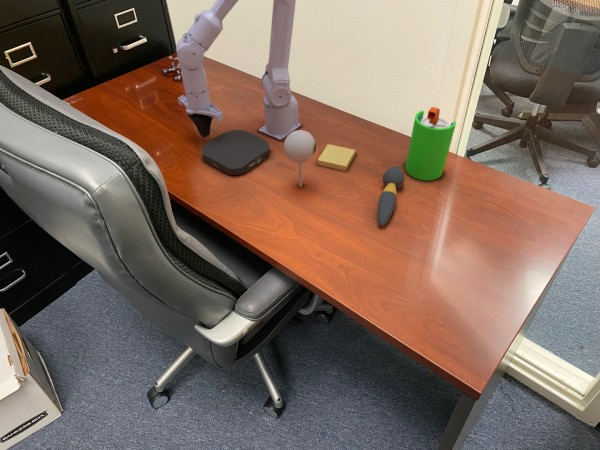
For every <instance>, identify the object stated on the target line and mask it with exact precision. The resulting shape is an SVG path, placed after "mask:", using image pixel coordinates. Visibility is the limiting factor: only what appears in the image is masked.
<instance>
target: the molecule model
mask: <svg viewBox="0 0 600 450" xmlns="http://www.w3.org/2000/svg"><path fill="white" fill-rule="evenodd" d="M168 59H169V60H170V61H171V62H172V63H174V62H175V61H176V60H177V61H179V60H178V56H176V58H174V57H173V56H172V55H170V56H168ZM180 69H181V68H180V62H179V63H177V65H176V66H175V64H171V65H170V67H169V68H164V69H162V73H164V74H168V73H170V71H172V72H175V71H176V72H177V76H175V77H174V80H175V81H176V80H181V78H182V74H181V71H179V70H180Z"/></svg>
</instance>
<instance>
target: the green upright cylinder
mask: <svg viewBox="0 0 600 450" xmlns="http://www.w3.org/2000/svg"><path fill="white" fill-rule="evenodd" d="M440 113H441V110H440V108H438V107H435V106H431V107H430V108H429V110H428V112H427V116H426V117H424V114H425V111H424V110H420V111H418V112H417V113H416V114H415V116H414V121H413V126H412V131H411V132H412V133H411V137H410V141H409V146H408V147H409V148H408V151H407V156H406V162H405V171H406V173H407V175H409V176H410V177H412V178H414V179H416V180H420V181H434V180H437V179H440V178H441V177H442V175H443V173H444V169H445V165H446V162H447V159H448V154H449V150H450V147H451V144H452V141H453V140H452V139H453V136H454V132H455V129H456V125H457V122H456V121H453V122H451V124H449V122H448V121H447V120H446V119H444V118H441V117H440Z"/></svg>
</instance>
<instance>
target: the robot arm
mask: <svg viewBox="0 0 600 450" xmlns="http://www.w3.org/2000/svg"><path fill="white" fill-rule="evenodd" d="M238 1H239V0H215V2H214V3H213V5H212V6H211V8H210V9H205V10H202V11H201V12H200V14H199V13H195V14H194V16H193V20H194V22H193V24H192V25H191V27H189V29H188V30H187V32H183V34H182V37H181V38H180V39H178V41H177V43H176V48H175V52H176V57H178V60H177V61H178V62H179V64H180V68H179V69H180V70H181V71H180V72H181V74H182V76H181V78H182V84H183V89H184V92H185V95H184V94H182V95H180V96H179V97H177V101H178V105H179V106H184V107H185V108H186V109H185V112H186V113H187V117H188V118H189V119H190V120H191V121H192V123H193V124H194V126H195V127H196V130H197V131H198V133H199V135H200V137H202V138H204V139H205V138H207V137H208V136H210V135H211V126H212V122H213V119H214V120H215V121H216V122H220V121H222V120H223V119H224V112H223V111H221V109H219V108H218V107H217V106H216V105H215V104H214V103H213V102H212V101H211V95H210V90H209V86H208V85H209V84H208V79H207V75H206V74H207V73H206V69H205V67H204V62H205V54H206V52H208V51H209V49H210V48H211V46H212V45H213V44H214V42H215V41H216V39H217V38H218V36H220V34H221V32H222V31H223V30H224V24H223V20H224V19H225V18H226V17H227V15H228V14H229V13H230V12H231V10H232V9H233V8H234V7H235V5H237V3H238ZM272 1H273V2H272V3H273V4H272V14H271V24H270V25H271V28H270V38H269V48H268V49H269V51H268V61H267V64H266V65H265V70H264V73H263V75H261V79H260V85H261V88H262V89H263V90H264V96H263V99H262V101H263V115H264V125H263V126H262V127H260V128H259V129H258V132H260V133H262V134H265V135H267V136H269V137H272V138H274V139H276V140H279V141H282V140H283V139H284V138H287V136H288V135H289V134H290V133H292V132H294V131H296V130H297V129H298V128H300V127H301V126H302V124H301V123H300V122H299V103H298V100H297V98H296V97H295V96H294V95H293V93H292V90H291V87H290V84H291V83H290V82H291V79H290V72H289V63H290V56H291V55H290V54H291V46H292V38H293V27H294V20H295V11H296V4H297V3H296V2H297V0H272Z"/></svg>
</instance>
